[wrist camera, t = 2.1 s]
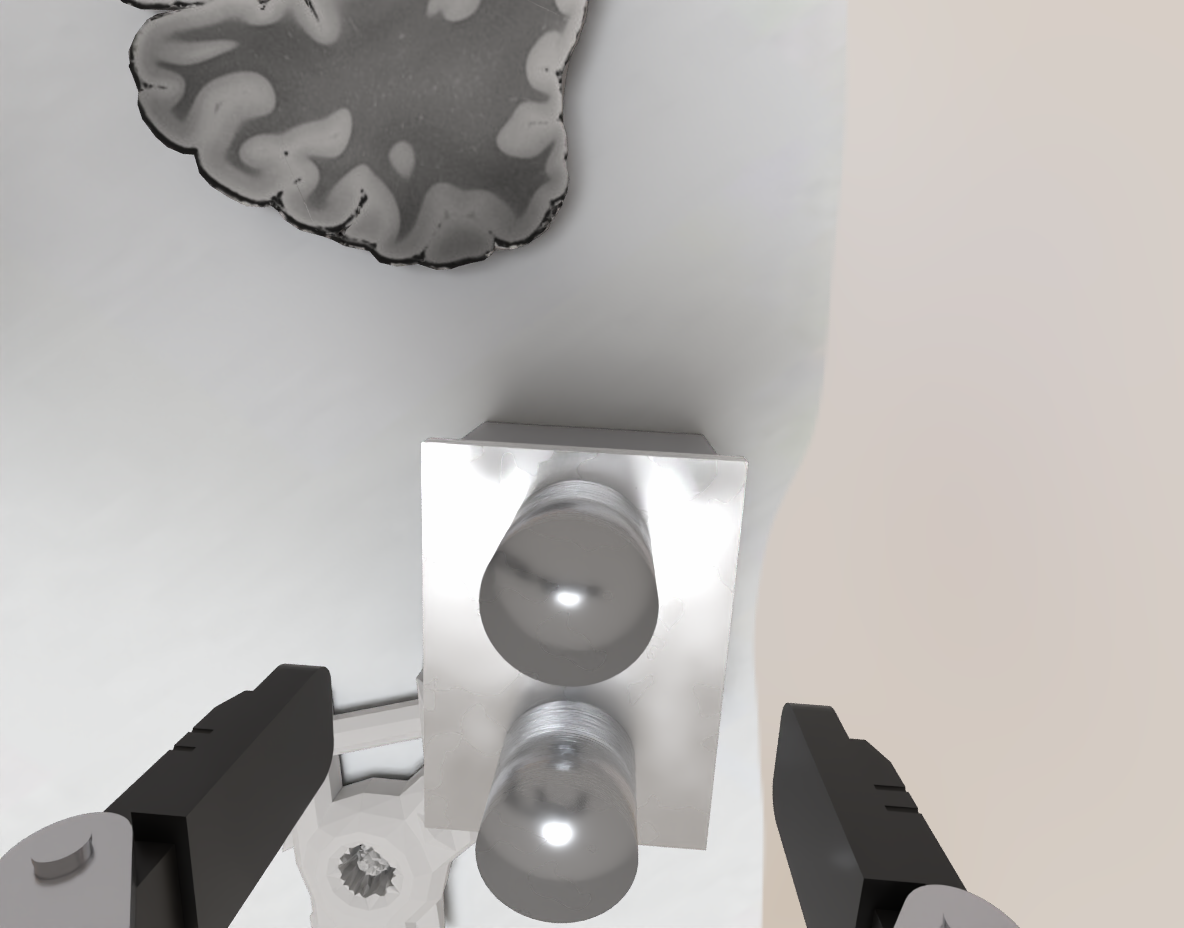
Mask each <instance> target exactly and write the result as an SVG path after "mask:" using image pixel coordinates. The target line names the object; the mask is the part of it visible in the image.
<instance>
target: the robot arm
mask: <svg viewBox="0 0 1184 928" xmlns="http://www.w3.org/2000/svg"><path fill="white" fill-rule="evenodd" d="M333 751H334V732H333V711H332V690H331V676H330V673H329V670H328V669H327V668H326V667H321V666H308V665H295V664H281V665H279V666H278V667H277V668H276V669H275V670H274V671H273V672H272V673H271V674H270V675H269V676H268V677H267V678H266V679H265V680H264V681H263V682H262V683H261V684H260V685H259V686H258V687H257V688H256V689H255V690H254V691H244V692H242V693H240V694H238V695H236V696H235V697H233V698H231V699H229V700H227V701H225V702H224V703H222V704H220V705H218V706H216V707H215V708H214V709H213V710H212V711H211V712H209V713H208V714H207V715H206V716H205V717H204V718H203V719H202V720H201V721H200V722H199V723H198V724H197V725H196V726H194V727H193V730H192V732H188V733H187V734H186V735H185V736H184V737H183V738H182V739H181V740H179V741H178V742H177V743H176V744H175V745H174V749H173V750H169V751H168V752H167V753H166V754H165V755H163V756H162V757H161V758H160V759H159V760H158V761H157V762H156V763H155V764H154V765H153V766H152V767H151V768H150V769H148V770H147V771H146V772H145V773H144V774H143V775H142V776H141V777H140V778H139V779H138V780H137V781H136V782H135V783H134V784H132V785H131V786H130V787H129V788H128V789H127V790H126V791H125V792H124V793H123V794H122V795H121V796H120V797H119V798H117V799H116V800H115V801H114V802H113V803H112V804H111V805H110V806H109V807H108V808H107V809H106V810H105V811H104V812H95V813H87V814H82V815H77V816H74V817H70V818H67V819H64V820H61V821H58V822H56V823H53V824H51V825H49V826H47V827H44V828H43V829H41V830H39V831H37V832H35V833H33V834H31V835H30V836H28V837H27V838H25V839H23V840H22V841H21V842H19V843H18V844H17V845H15V846H14V847H13V848H11V849H10V850H9V851H8V852H7V853H6V854H5V855H4V856H3V857H2V858H1V859H0V928H228V926H229V925H230V923H231V922H232V920H233V919H234V917H235V916H236V914H237V913H238V911H239V910H240V908H241V907H242V905H243V904H244V902H245V901H246V899H247V898H248V896H249V895H250V893H251V892H252V890H253V889H254V887H255V886H256V884H257V882H258V881H259V879H260V878H261V876H262V875H263V873H264V872H265V870H266V869H267V867H268V866H269V864H270V863H271V861H272V860H273V858H274V857H275V855H276V854H277V852H278V851H279V849H280V848H281V846H282V845H283V843H284V842H285V840H286V839H287V837H288V836H289V834H290V833H291V831H292V829H293V828H294V826H295V825H296V823H297V822H298V820H299V819H300V817H301V816H302V814H303V813H304V811H305V810H306V808H307V807H308V805H309V804H310V802H311V801H312V799H313V798H314V796H315V795H316V793H317V792H318V790H319V789H320V787H321V786H322V784H323V782H324V781H325V779H326V776H327V774H328V772H329V769H330V765H331V762H332V757H333ZM773 807H774V814H775V820H776V824H777V827H778V830H779V834H780V837H781V841H782V844H783V848H784V851H785V854H786V857H787V861H788V865H789V868H790V871H791V875H792V878H793V882H794V885H795V888H796V892H797V895H798V899H799V902H800V905H801V909H802V912H803V915H804V919H805V922H806V926H807V928H1019V927H1018V926H1017V925H1016V924H1015V922H1014V921H1013V920H1011V919H1010V918H1009V917H1008V916H1007V915H1006V914H1004V913H1003V912H1002V911H1001V910H999V909H998V908H996V907H995V906H994V905H992V904H991V903H989V902H987V901H986V900H984V899H982V898H980V897H978V896H976V895H974V894H972V893H970V892H967V890H966V888H965V887H964V885H963V883H962V882H961V880H960V879H959V877H958V875H957V873H956V871H955V870H954V868H953V866H952V865H951V863H950V862H949V860H948V858H947V856H946V855H945V853H944V851H943V850H942V848H941V847H940V845H939V843H938V841H937V839H936V838H935V836H934V834H933V833H932V831H931V829H930V828H929V826H928V824H927V823H926V821H925V819H924V818H923V816H922V814H920V813H918V808H917V806H916V804H915V802H914V801H913V799H912V798H911V796H910V794H909V793H908V792H906V790H905V786H904V784H903V782H902V781H901V779H900V777H899V776H898V774H897V772H896V770H895V769H894V767H893V765H892V764H891V762H890V761H889V760H888V759H886V758H885V757H884V756H883V755H882V754H881V753H880V752H879V751H877V750H876V749H875V748H874V747H873V746H872V745H870V744H869V743H868V742H867V741H866V740H860V739H849V737H848V735H847V733H846V732H845V730H844V728H843V726H842V724H841V722H840V720H839V718H838V717H837V714H836V713H835V711H834V709H833V708H832V707H830V706H822V705H809V704H795V703H786V704H785V705H784V707H783V711H782V716H781V723H780V732H779V738H778V747H777V754H776V762H775V770H774V778H773Z"/></svg>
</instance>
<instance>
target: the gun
mask: <svg viewBox="0 0 1184 928" xmlns="http://www.w3.org/2000/svg"><path fill="white" fill-rule="evenodd" d="M416 680H417V690H418V699H416V700H411V701H405V702H400V703H395V704H390V705H384V706H379V707H374V708H369V709H363V710H358V711H353V712H348V713H343V714H337V715H334V711H333V703H332V711H333V732H334V751H333V757H332V762H331V765H330V769H329V772H328V774H327V776H326V779H325V781H324V782H323V784H322V786H321V787H320V789H319V790H318V792H317V793H316V795H315V796H314V798H313V799H312V801H311V802H310V804H309V805H308V807H307V808H306V810H305V811H304V813H303V814H302V816H301V817H300V819H299V820H298V822H297V823H296V825H295V826H294V828H293V829H292V831H291V833H290V834H289V836H288V837H287V839H286V840H285V842H284V845H283V852H284V851H286V850H288V849H291V848H293V847H294V852H295V859H296V864H297V866H298V868H299V871H300V873H301V875H302V878H303V880H304V882H305V885H306V887H307V889H308V892H309V894H310V896H311V903H312V911H313V912H312V914H311V915H310V920H311V927H312V928H445V915H444V896H443V892H444V889H445V886H446V883H447V881H448V876H449V872H450V867H451V862H452V861H453V860H454V859H455V858H457V857H458V856H459V855H460V854H462V853H463V852H464V851H465V850H467V849H468V848H469V847H470V846H472V845H473V844H474V843H475V842H476V840H477V836H478V832H472V831H460V830H447V829H435V828H424V766H423V767H422V768H421V769H420V770H419V771H418V772H417V773H416V774H415V775H413V776H412V777H411V778H410V779H409V780H408V781H406V780H395V779H385V778H374V777H372V778H369V779H366V780H363V781H359V782H356V783H353V784H350V785H346V786H343V785H342V777H341V769H340V761H339V754H344V753H349V752H354V751H359V750H364V749H369V748H374V747H379V746H384V745H389V744H393V743H398V742H403V741H408V740H413V739H418V738H422V742H423V752H424V705H423V669H422V670H421V672H420V673H419V675H418V676H417V678H416ZM360 845H362V846H361V847H360Z"/></svg>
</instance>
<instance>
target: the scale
mask: <svg viewBox="0 0 1184 928" xmlns="http://www.w3.org/2000/svg"><path fill="white" fill-rule="evenodd" d="M461 440H476V441H493V442H509V443H526V444H543V445H559V446H576V447H593V448H610V449H626V450H643V451H660V452H676V453H693V454H710V455H717V454H716V452H715V451H714V449H713V448H712V447H711V445H710V444H709V442H708V441H707V440H706V438H705V437H704V435H700V434H683V433H666V432H649V431H632V430H615V429H598V428H581V427H564V426H547V425H530V424H513V423H496V422H484V423H482V424H481V425H480V426H478V427H477V428H476V429H474V430H473V431H472V432H470V433H469V434H467V435H466V436H465V437H463V438H462V439H461Z"/></svg>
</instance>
